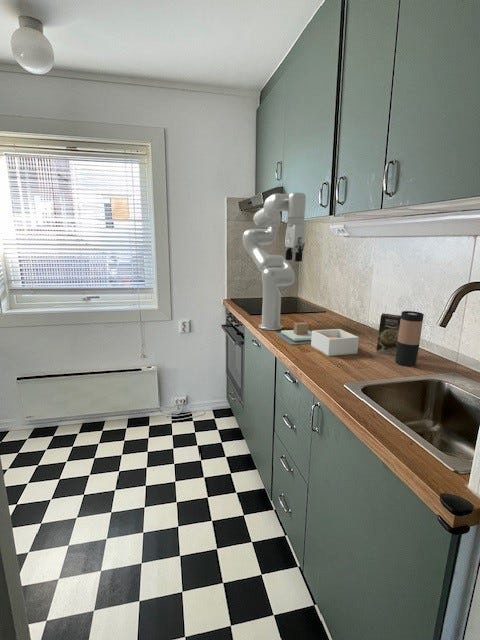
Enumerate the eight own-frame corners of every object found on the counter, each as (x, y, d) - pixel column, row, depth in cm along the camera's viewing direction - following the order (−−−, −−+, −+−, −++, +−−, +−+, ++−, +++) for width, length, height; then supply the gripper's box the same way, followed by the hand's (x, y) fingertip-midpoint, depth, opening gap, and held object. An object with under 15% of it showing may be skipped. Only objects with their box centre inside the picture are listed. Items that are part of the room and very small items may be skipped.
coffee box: (375, 352, 145) (380, 315, 142) (377, 348, 151) (381, 312, 147) (399, 356, 141) (404, 318, 137) (400, 352, 147) (405, 315, 143)
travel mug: (391, 359, 137) (397, 310, 132) (409, 360, 137) (416, 311, 132) (400, 366, 129) (408, 315, 125) (420, 366, 130) (428, 315, 125)
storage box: (310, 345, 152) (312, 330, 151) (338, 343, 156) (339, 328, 155) (328, 356, 139) (329, 339, 138) (357, 353, 144) (358, 337, 142)
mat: (275, 334, 169) (275, 333, 169) (307, 332, 175) (307, 331, 175) (291, 345, 152) (291, 344, 152) (326, 342, 158) (326, 341, 158)
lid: (280, 334, 168) (281, 320, 166) (306, 332, 172) (307, 319, 171) (293, 342, 155) (294, 327, 153) (321, 340, 159) (322, 326, 158)
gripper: (280, 222, 161) (278, 259, 165) (297, 221, 145) (294, 262, 149) (294, 223, 163) (292, 259, 167) (312, 221, 147) (310, 262, 151)
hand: (293, 260), depth 158 cm, fingers open, 9 cm apart
